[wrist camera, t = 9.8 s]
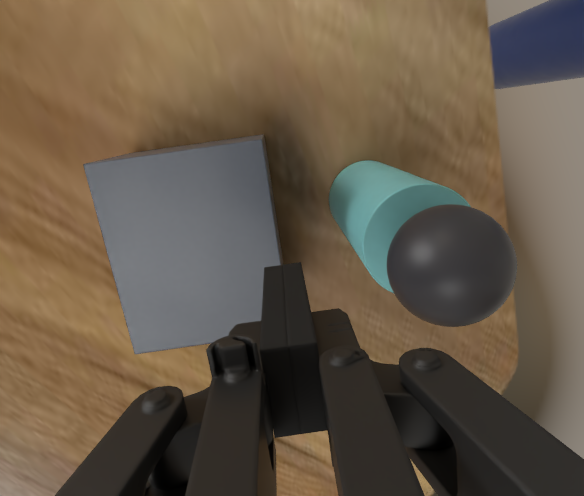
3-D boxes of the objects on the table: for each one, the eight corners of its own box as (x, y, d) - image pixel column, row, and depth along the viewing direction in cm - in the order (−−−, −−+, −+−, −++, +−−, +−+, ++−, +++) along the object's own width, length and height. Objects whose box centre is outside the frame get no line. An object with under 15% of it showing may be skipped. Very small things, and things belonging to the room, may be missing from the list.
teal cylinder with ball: (380, 154, 36) (647, 158, 19) (385, 224, 37) (635, 282, 21) (243, 182, 30) (449, 219, 14) (256, 262, 32) (454, 375, 16)
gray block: (264, 134, 32) (262, 139, 24) (286, 281, 36) (291, 332, 27) (132, 152, 32) (82, 164, 24) (167, 298, 36) (134, 354, 27)
